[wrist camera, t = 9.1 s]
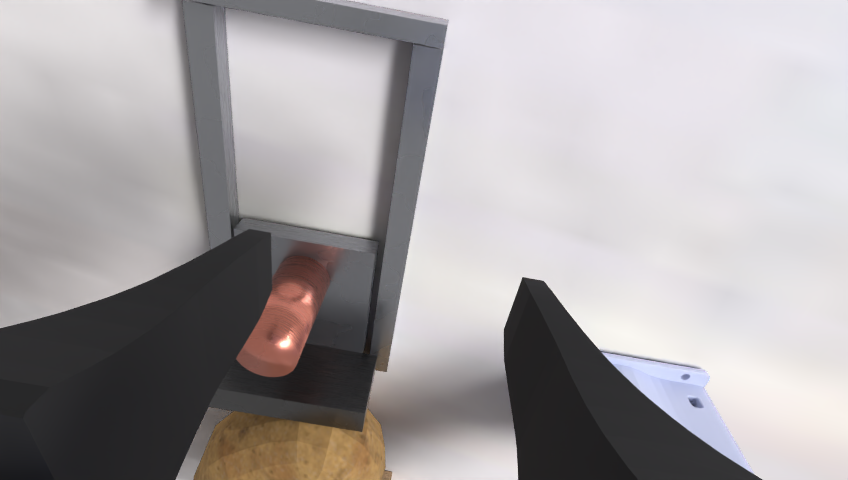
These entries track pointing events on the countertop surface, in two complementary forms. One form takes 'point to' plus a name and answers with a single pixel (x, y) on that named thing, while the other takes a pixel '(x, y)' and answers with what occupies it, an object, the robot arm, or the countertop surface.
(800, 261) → the countertop surface
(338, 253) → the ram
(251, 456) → the potato
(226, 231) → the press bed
